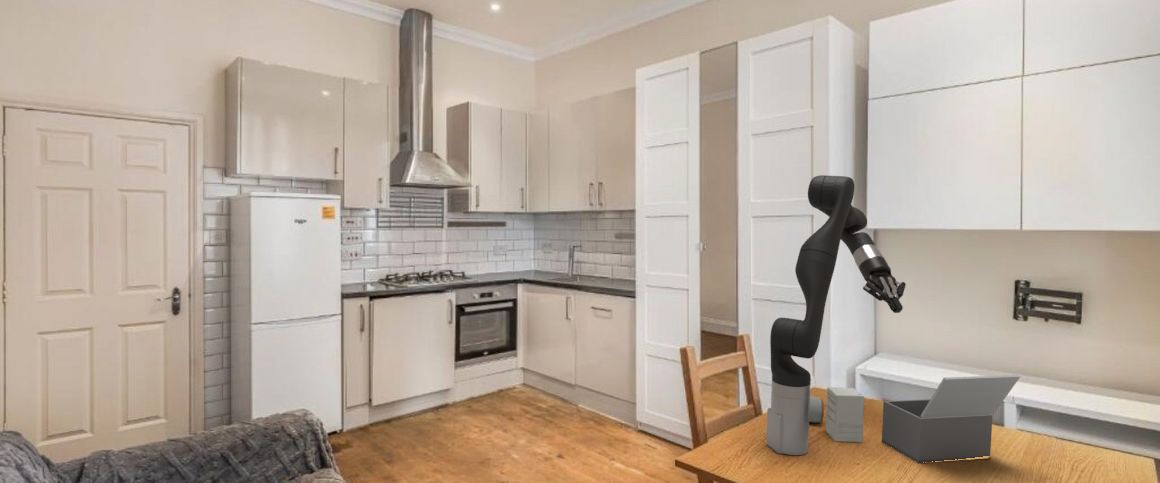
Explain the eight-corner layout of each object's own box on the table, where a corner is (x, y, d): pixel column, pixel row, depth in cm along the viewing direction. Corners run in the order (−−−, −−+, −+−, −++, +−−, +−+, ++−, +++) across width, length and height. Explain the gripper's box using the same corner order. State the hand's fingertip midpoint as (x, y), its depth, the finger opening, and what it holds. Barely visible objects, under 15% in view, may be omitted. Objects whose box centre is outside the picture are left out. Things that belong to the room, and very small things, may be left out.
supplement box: (852, 432, 157) (854, 387, 156) (863, 443, 149) (865, 396, 149) (824, 431, 158) (826, 386, 157) (834, 441, 150) (836, 394, 149)
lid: (920, 415, 137) (921, 417, 137) (943, 377, 130) (945, 379, 130) (991, 412, 141) (993, 414, 140) (1018, 374, 134) (1020, 376, 133)
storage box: (918, 463, 138) (920, 418, 137) (881, 442, 150) (883, 401, 150) (990, 458, 141) (992, 415, 140) (947, 438, 154) (949, 398, 153)
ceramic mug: (824, 427, 160) (825, 400, 160) (793, 423, 163) (794, 397, 162) (819, 415, 171) (820, 389, 170) (790, 412, 173) (791, 387, 172)
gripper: (857, 255, 166) (884, 303, 155) (897, 255, 168) (927, 303, 157) (845, 271, 172) (870, 319, 160) (884, 271, 174) (912, 318, 163)
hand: (898, 311), depth 159 cm, fingers closed
